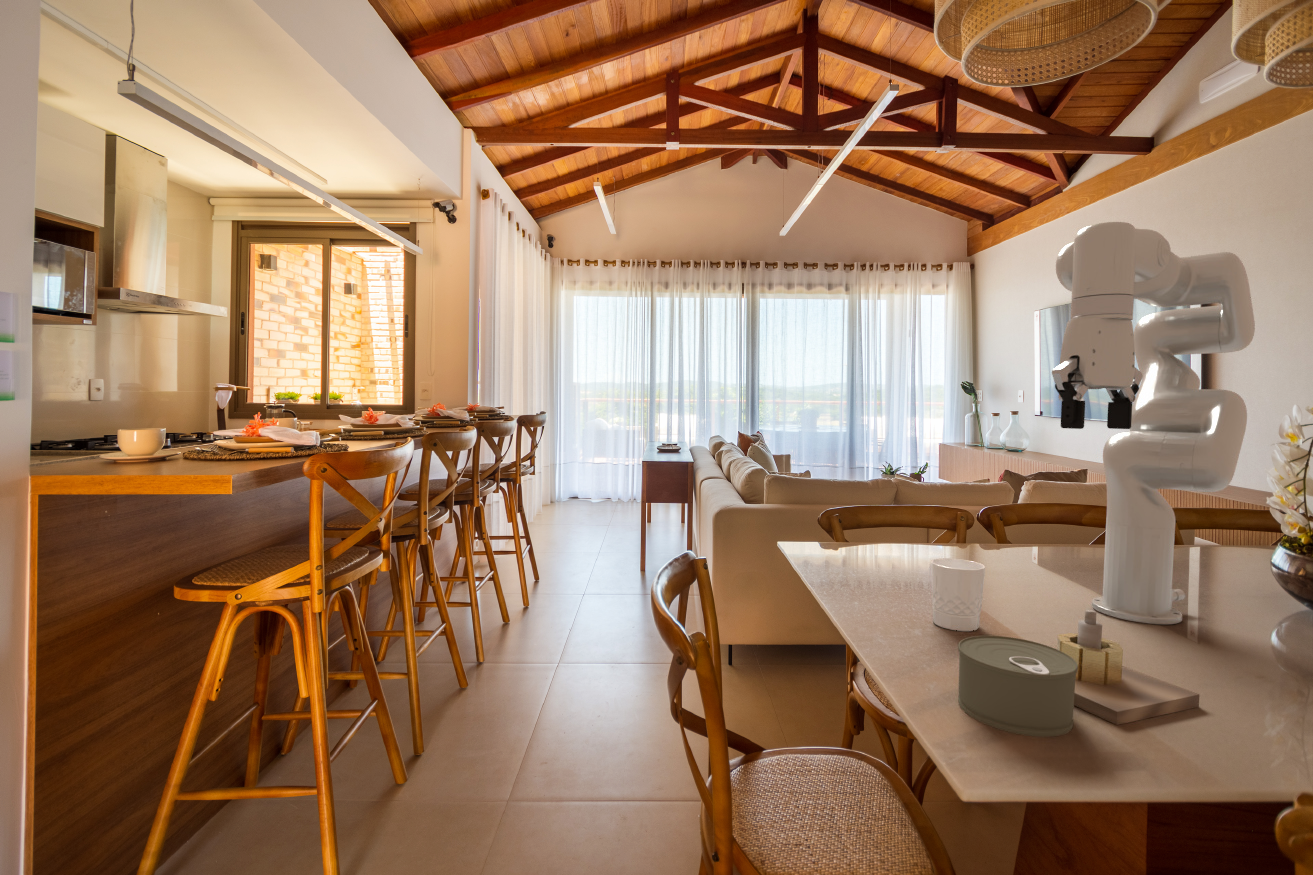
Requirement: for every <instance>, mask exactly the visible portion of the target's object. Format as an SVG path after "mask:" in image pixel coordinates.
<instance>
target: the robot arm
mask: <svg viewBox="0 0 1313 875" xmlns="http://www.w3.org/2000/svg"><path fill="white" fill-rule="evenodd" d="M1055 260H1056V261H1055V273H1056V276H1057V279H1058V281H1059V283H1060V285H1062V286H1063V287H1064V288H1065V289H1066V290H1067V291H1069V292H1071V302H1070V303H1071V304H1070V305H1071V306H1070V320H1068V321H1067V323H1066V327H1065V330H1064V334H1063V337H1062V338H1063V339H1062V344H1061V350H1060V359H1059V365H1057V366H1056V367H1055V368H1053V369H1052V370H1051V375H1052V378H1053V381H1054V389H1055V390H1056V391H1057V393H1058V400H1059V401H1061V404H1060V405H1061V408H1060V427H1061V429H1070V430H1071V429H1072V430H1073V429H1075V430H1076V429H1077V430H1078V429H1079V430H1081V429H1082V430H1083V429H1084V427H1085V418H1086V417H1085V416H1086V415H1085V414H1086V412H1085V411H1086V400H1082V399H1083V398H1084V396H1085V395H1086V393H1087V391H1088V390H1101V389H1105V390H1106V392H1107V393H1108V396H1109V397H1110V399H1111V401H1108V402H1107V416H1106V417H1107V420H1106V422H1107V423H1106V426H1107V429H1112V430H1113V429H1117V430H1118V429H1119V430H1129V431H1124V432H1119V433H1116V434H1114V435H1112V436H1111V437H1109V438H1108V439H1107V441H1106V442H1105V444H1104V446H1103V449H1102V450H1103V451H1102V461H1103V469H1104V476H1105V477H1104V478H1105V482H1106V483H1105V484H1106V485H1105V486H1106V520H1105V522H1106V523H1105V536H1104V537H1105V539H1104V540H1105V541H1104V557H1103V558H1104V561H1103V583H1102V596H1096V597H1094V598H1092V600H1091V607H1092V608H1093V609H1094V611H1096V612H1099V613H1101V614H1103V615H1107V616H1110V617H1114V618H1115V619H1116V618H1117V619H1119V620H1120V619H1121V620H1125V621H1129V622H1130V621H1131V622H1136V623H1141V624H1142V623H1143V624H1151V625H1175V624H1179V623H1181V622H1182V621H1183V614H1182V612H1181V611H1179V610H1178V609H1176V608H1174V607H1173V603H1174V602H1178V601H1183V600H1184V599H1185V598H1186V593H1185V592H1184V590H1182V589H1180V588H1176V589H1173V588H1172V587H1173V575H1174V574H1173V572H1174V553H1175V536H1176V535H1175V534H1176V532H1175V531H1176V515H1175V512H1174V509H1173V508H1172V506H1171V505H1170V503H1169V502H1168V501H1167V499H1166V498H1165V497H1164V495H1163V494H1161V493H1160V491H1159V490H1174V491H1175V490H1178V491H1189V492H1200V493H1201V492H1203V493H1206V492H1207V493H1214V492H1220V491H1223V490H1225V489H1226V488H1228V487H1229V486H1230V484H1231V482H1232V480H1233V478H1234V476H1235V472H1236V469H1237V465H1238V461H1239V457H1240V453H1241V449H1242V446H1243V441H1244V438H1245V433H1246V429H1247V421H1248V420H1247V419H1248V412H1247V411H1248V410H1247V406H1246V403H1245V400H1244V399H1243V397H1242V396H1241V395H1239V393H1236V392H1235V391H1232V390H1228V389H1217V388H1216V389H1215V388H1214V389H1211V388H1208V389H1207V388H1206V389H1204V388H1203V389H1200V386H1201V380H1200V378H1199V376H1198V374H1197V373H1196V372H1195V371H1194V370H1193V369H1192V368H1191V367H1190V366H1189V365H1188V364H1187V363H1186V362H1184V361H1183V360H1181V359H1179V358H1177V357H1176V356H1178V355H1179V356H1180V355H1181V356H1182V355H1200V354H1202V355H1203V354H1227V353H1235V352H1240V351H1242V350H1244V349H1245V348H1248V346H1249V345H1250V344H1251V343H1252V341H1253V339H1254V336H1255V331H1256V330H1255V329H1256V328H1255V326H1256V325H1255V324H1256V322H1255V316H1254V309H1253V303H1252V295H1251V290H1250V284H1249V279H1248V274H1247V271H1246V270H1247V269H1246V267H1245V265H1244V263H1243V261H1242V259H1240V257H1239V256H1238V255H1237V254H1235V253H1232V252H1230V251H1229V252H1228V251H1221V252H1216V253H1214V252H1213V253H1208V254H1207V253H1205V254H1199V255H1193V256H1192V255H1191V256H1186V257H1179V256H1178V255H1177V254H1175V253H1174V252H1172V251H1171V245H1170V243H1169V241H1168V240H1167V239H1166V238H1165V237H1164V235H1162V234H1161V233H1160V232H1158V231H1156V230H1153V229H1148V228H1146V229H1144V228H1136V227H1135V226H1134V225H1133V224H1132V223H1129V222H1125V221H1108V222H1101V223H1096V224H1091V225H1089V226H1086V227H1083V228H1081V229H1080V230H1079V231H1078V232H1077V233H1076V234H1075V237H1074V241H1073V242H1070V243H1068V244H1066V245H1065V246H1064V247H1063V248H1061V250H1060V251H1059V252H1058V255H1057V256H1056V259H1055ZM1134 300H1138V301H1140V302H1142V303H1145V304H1148V305H1150V306H1152V307H1156V308H1174V309H1168V310H1166V309H1165V310H1161V311H1156V312H1153V313H1149V314H1147V315H1145V316H1143V317H1142V318H1140V319H1139V320H1138V322H1137V323H1136V325H1135V326H1134V325H1133V319H1134V304H1135V301H1134ZM1210 304H1219V305H1213V306H1200V305H1210ZM1186 306H1187V308H1177V309H1175V308H1176V307H1186ZM1188 306H1200V307H1189V308H1188ZM1136 364H1137V367H1138V368H1137V367H1135V365H1136Z"/></svg>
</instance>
